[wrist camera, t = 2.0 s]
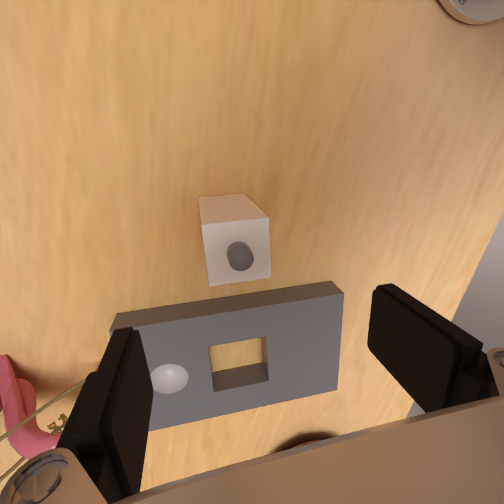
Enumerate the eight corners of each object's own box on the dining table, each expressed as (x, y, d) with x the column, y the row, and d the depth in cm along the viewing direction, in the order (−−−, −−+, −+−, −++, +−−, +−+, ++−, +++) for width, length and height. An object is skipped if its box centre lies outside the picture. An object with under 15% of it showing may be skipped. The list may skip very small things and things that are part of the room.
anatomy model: (153, 441, 32) (-61, 648, 17) (75, 375, 38) (-126, 485, 24) (160, 360, 28) (-104, 537, 14) (72, 302, 35) (-166, 382, 20)
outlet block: (331, 280, 33) (344, 293, 30) (326, 372, 38) (337, 390, 35) (116, 313, 29) (108, 331, 26) (143, 410, 34) (139, 434, 31)
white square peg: (243, 193, 27) (274, 222, 17) (246, 235, 29) (275, 285, 19) (197, 197, 27) (202, 230, 16) (203, 240, 28) (210, 295, 18)
